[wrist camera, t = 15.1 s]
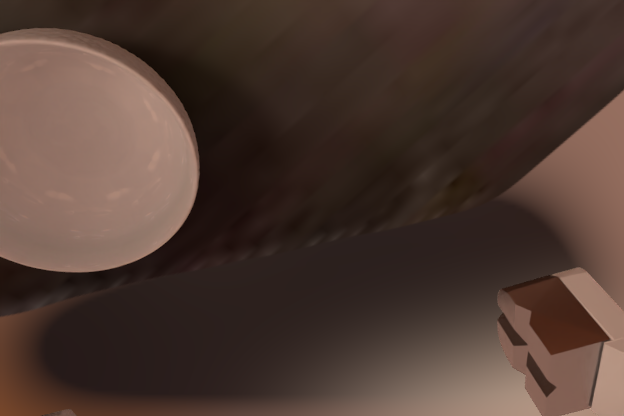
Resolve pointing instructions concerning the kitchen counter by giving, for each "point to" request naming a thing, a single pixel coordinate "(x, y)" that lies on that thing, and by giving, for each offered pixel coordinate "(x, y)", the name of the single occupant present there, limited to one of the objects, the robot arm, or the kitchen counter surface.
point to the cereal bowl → (88, 153)
